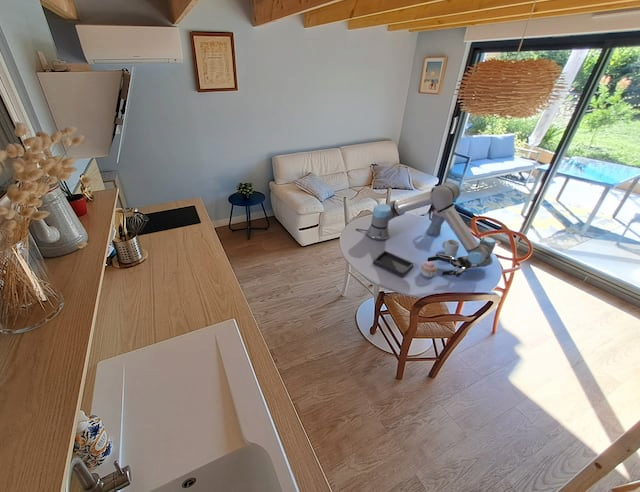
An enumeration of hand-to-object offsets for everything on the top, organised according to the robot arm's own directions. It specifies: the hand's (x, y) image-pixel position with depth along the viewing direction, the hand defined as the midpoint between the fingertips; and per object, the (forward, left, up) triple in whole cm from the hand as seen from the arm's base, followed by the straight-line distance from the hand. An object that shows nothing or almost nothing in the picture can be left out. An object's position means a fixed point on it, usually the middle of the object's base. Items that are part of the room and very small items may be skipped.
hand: (434, 266), depth 171 cm
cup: (-1, +30, -6) cm, 31 cm away
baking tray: (-21, -9, -6) cm, 24 cm away
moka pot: (-18, +49, -6) cm, 53 cm away
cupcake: (-2, -3, -6) cm, 7 cm away
